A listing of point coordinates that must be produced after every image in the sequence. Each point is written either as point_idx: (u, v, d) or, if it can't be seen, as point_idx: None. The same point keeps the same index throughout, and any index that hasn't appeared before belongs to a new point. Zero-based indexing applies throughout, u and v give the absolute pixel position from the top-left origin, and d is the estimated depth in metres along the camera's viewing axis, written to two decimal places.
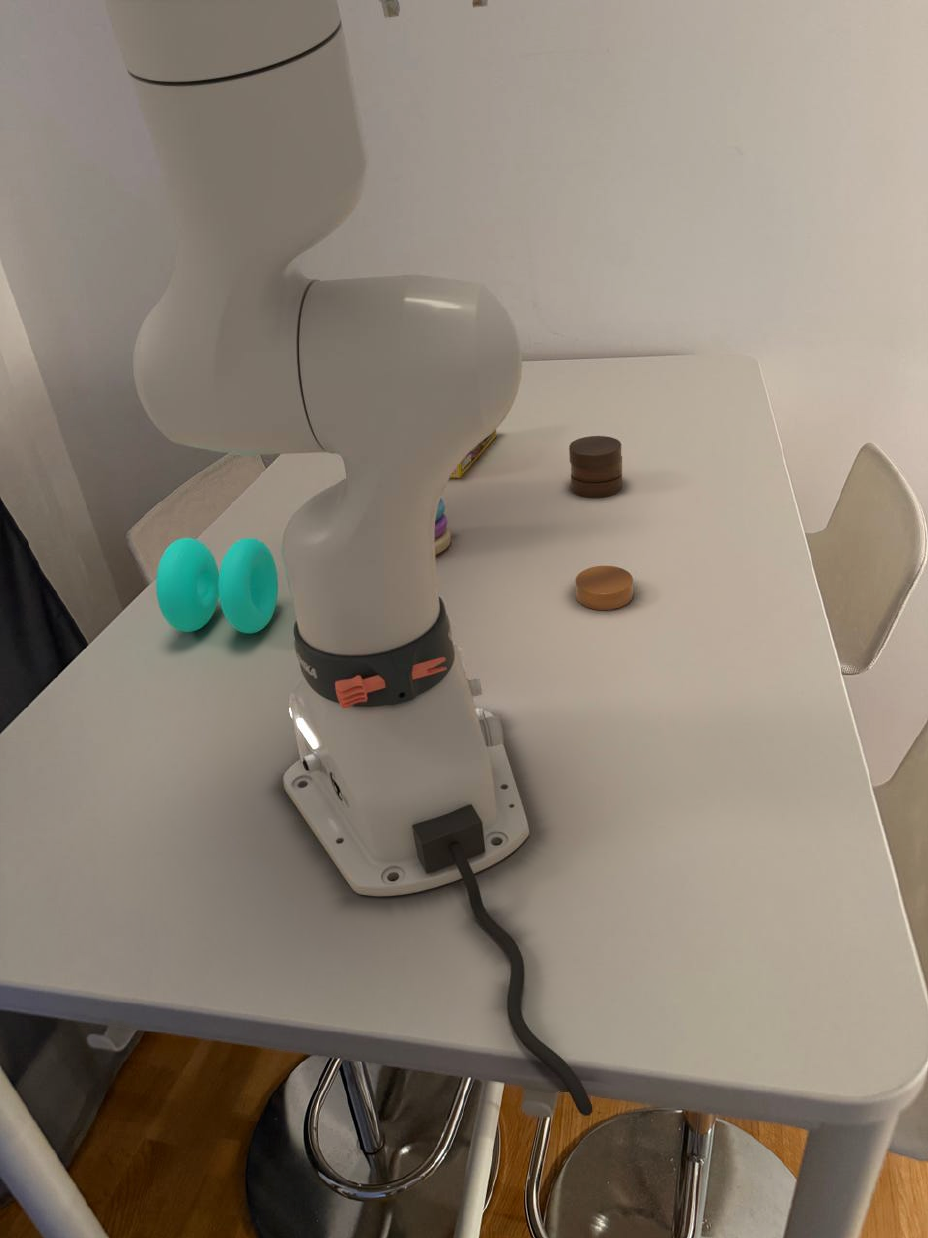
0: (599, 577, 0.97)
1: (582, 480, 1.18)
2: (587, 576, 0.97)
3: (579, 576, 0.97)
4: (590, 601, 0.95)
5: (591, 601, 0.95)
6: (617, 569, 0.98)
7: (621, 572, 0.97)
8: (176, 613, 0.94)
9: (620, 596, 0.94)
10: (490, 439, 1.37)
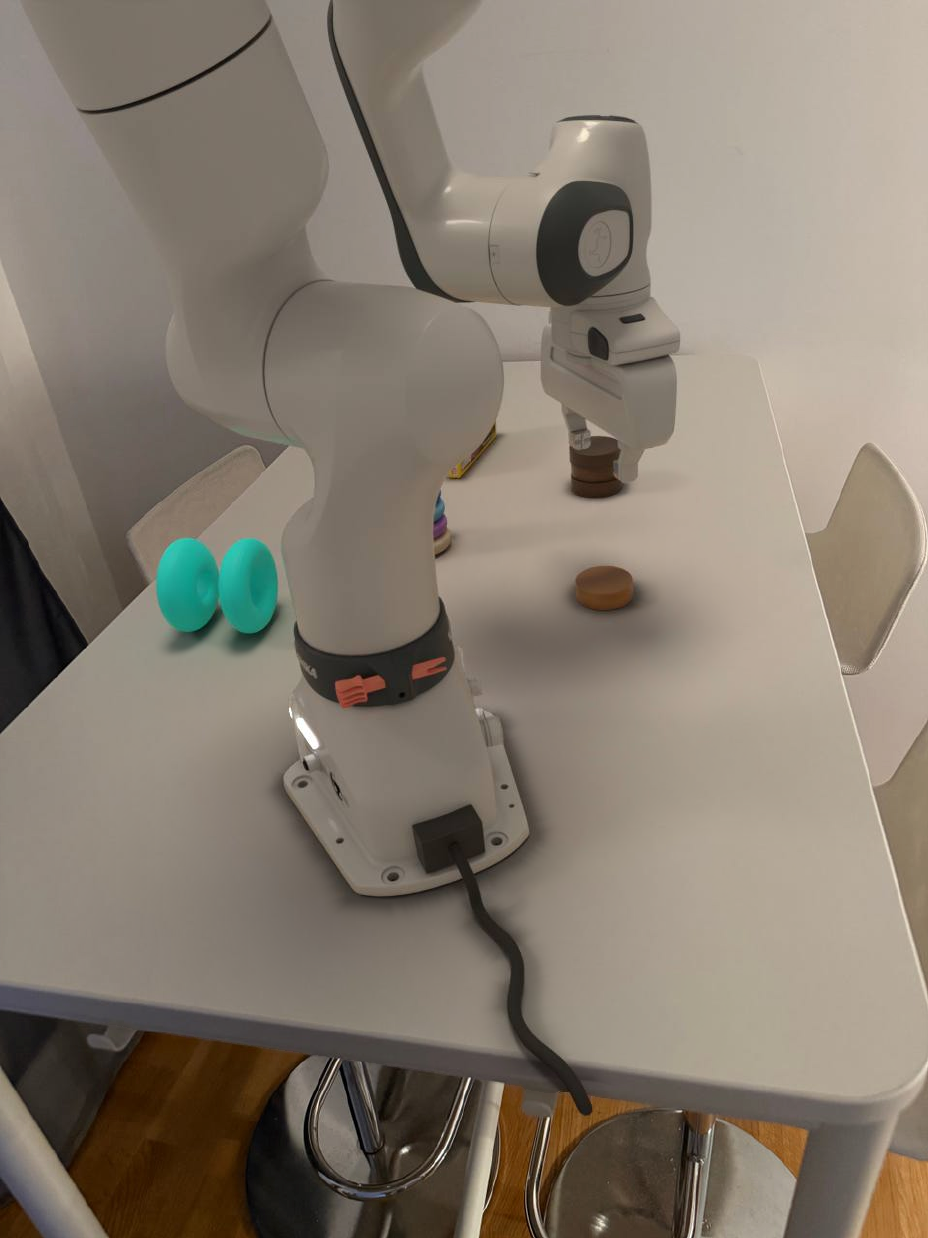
0: (599, 577, 0.97)
1: (582, 480, 1.18)
2: (587, 576, 0.97)
3: (579, 576, 0.97)
4: (590, 601, 0.95)
5: (591, 601, 0.95)
6: (617, 569, 0.98)
7: (621, 572, 0.97)
8: (176, 613, 0.94)
9: (620, 596, 0.94)
10: (490, 439, 1.37)
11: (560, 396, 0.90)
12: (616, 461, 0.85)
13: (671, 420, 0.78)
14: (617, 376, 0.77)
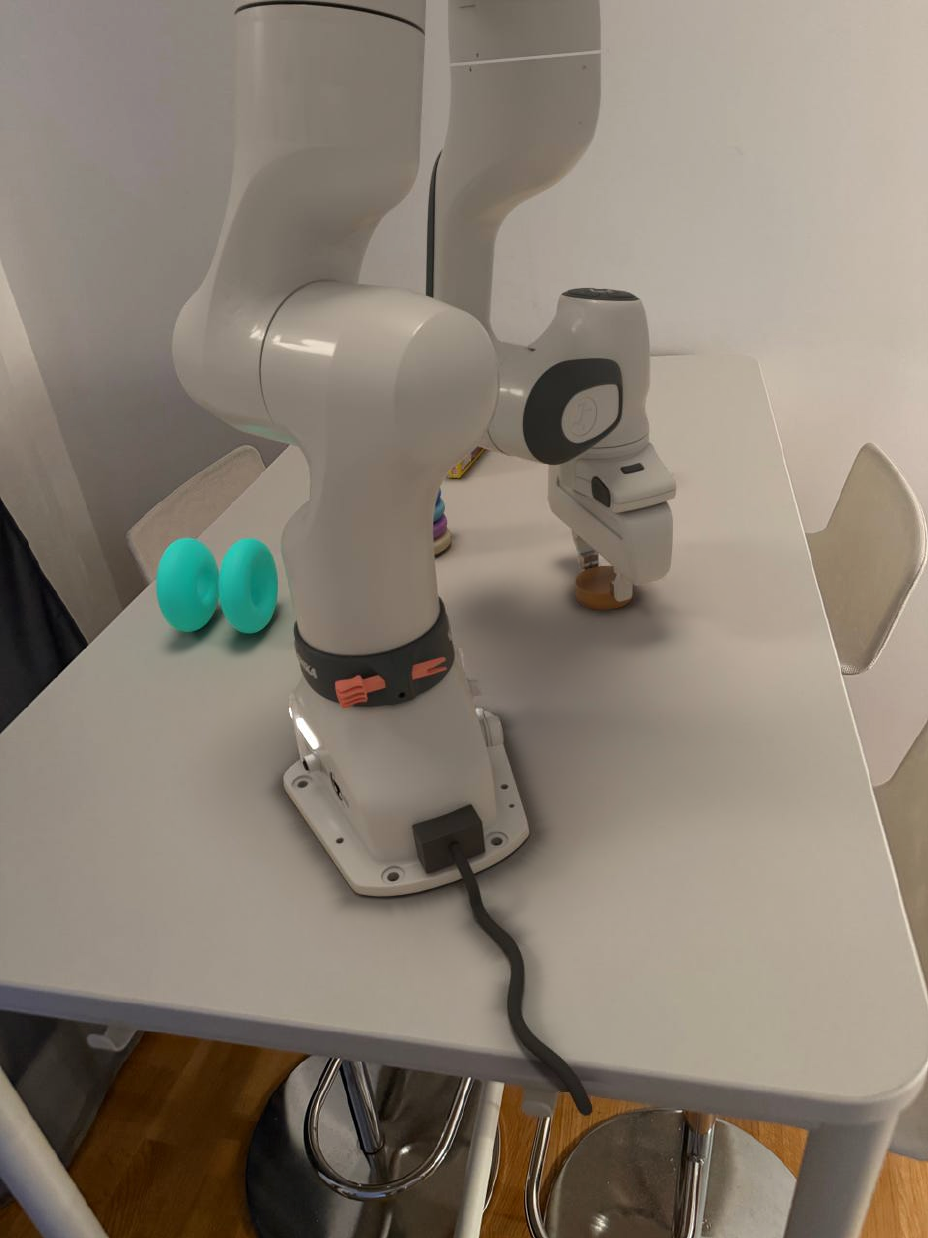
0: (599, 577, 0.97)
1: None
2: (587, 576, 0.97)
3: (579, 576, 0.97)
4: (590, 601, 0.95)
5: (591, 601, 0.95)
6: None
7: None
8: (176, 613, 0.94)
9: None
10: None
11: (566, 519, 0.97)
12: (612, 582, 0.93)
13: (668, 559, 0.85)
14: (618, 522, 0.84)
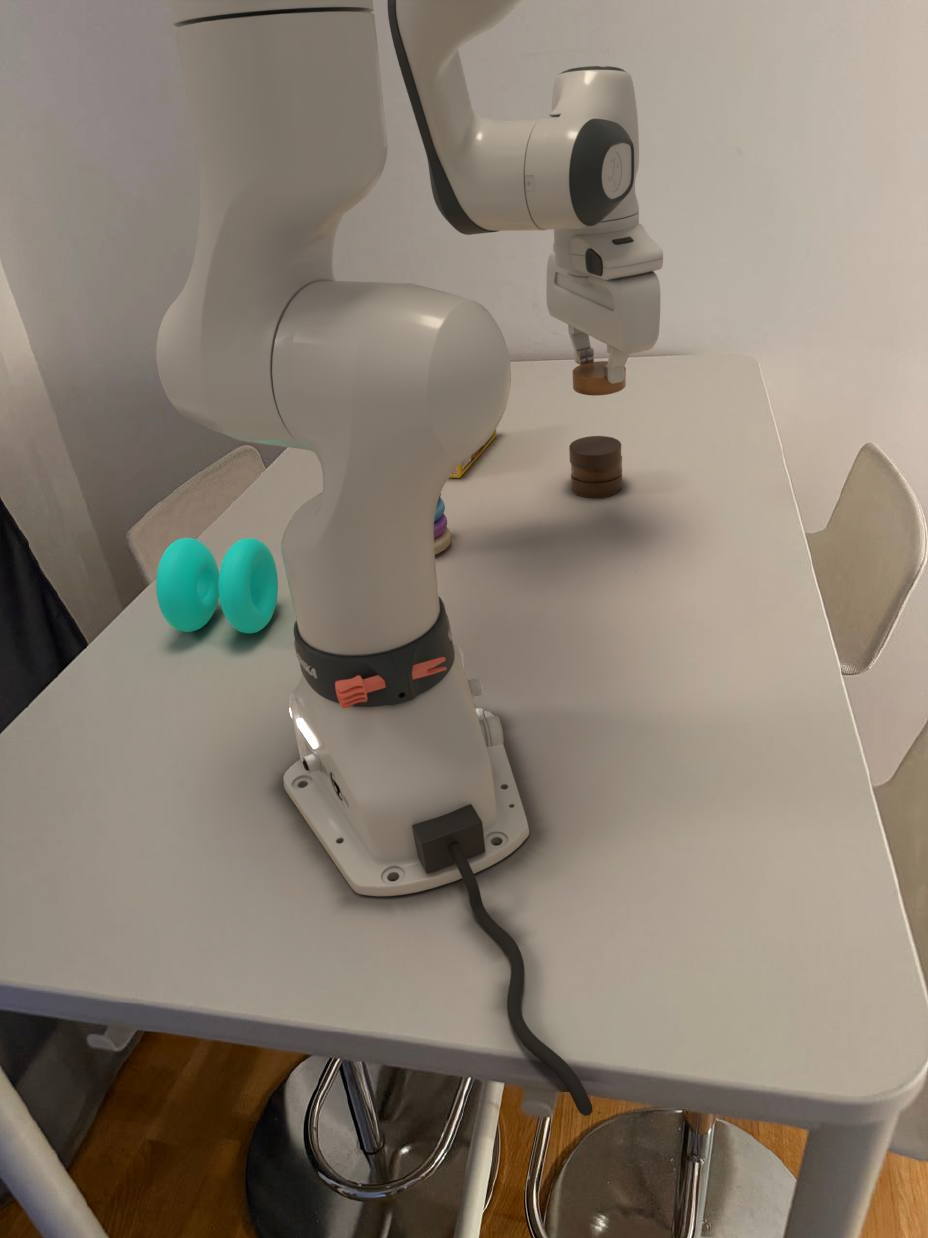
0: (594, 368, 1.04)
1: (582, 480, 1.18)
2: (583, 368, 1.05)
3: (576, 368, 1.05)
4: (586, 387, 1.03)
5: (587, 387, 1.03)
6: None
7: None
8: (176, 613, 0.94)
9: None
10: (490, 439, 1.37)
11: (563, 315, 1.05)
12: (606, 365, 1.01)
13: (656, 327, 0.93)
14: (610, 289, 0.91)
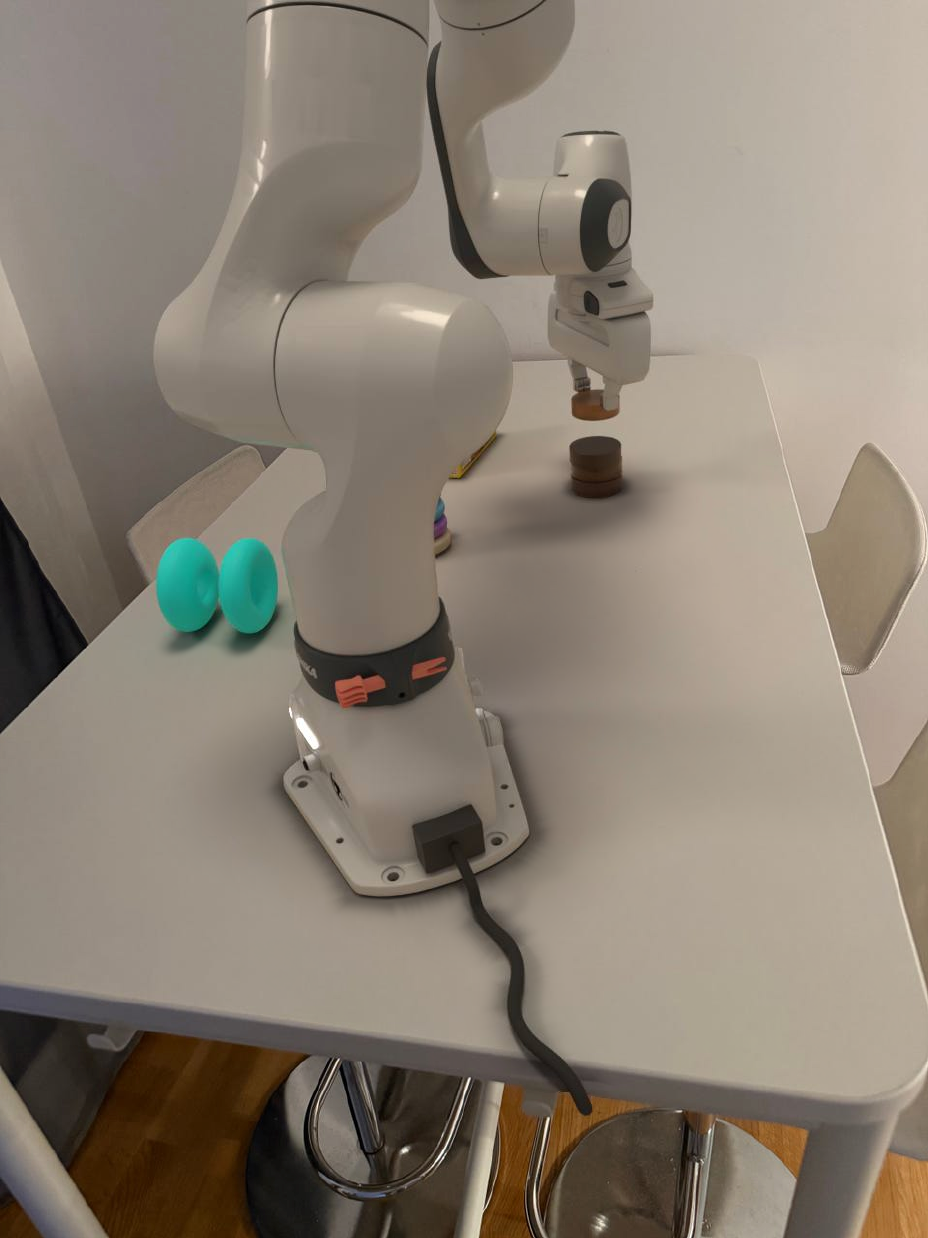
0: (591, 396, 1.15)
1: (582, 480, 1.18)
2: (581, 396, 1.15)
3: (574, 396, 1.15)
4: (583, 413, 1.13)
5: (584, 413, 1.13)
6: None
7: None
8: (176, 613, 0.94)
9: None
10: (490, 439, 1.37)
11: (563, 348, 1.15)
12: (602, 394, 1.11)
13: (647, 361, 1.03)
14: (605, 327, 1.02)
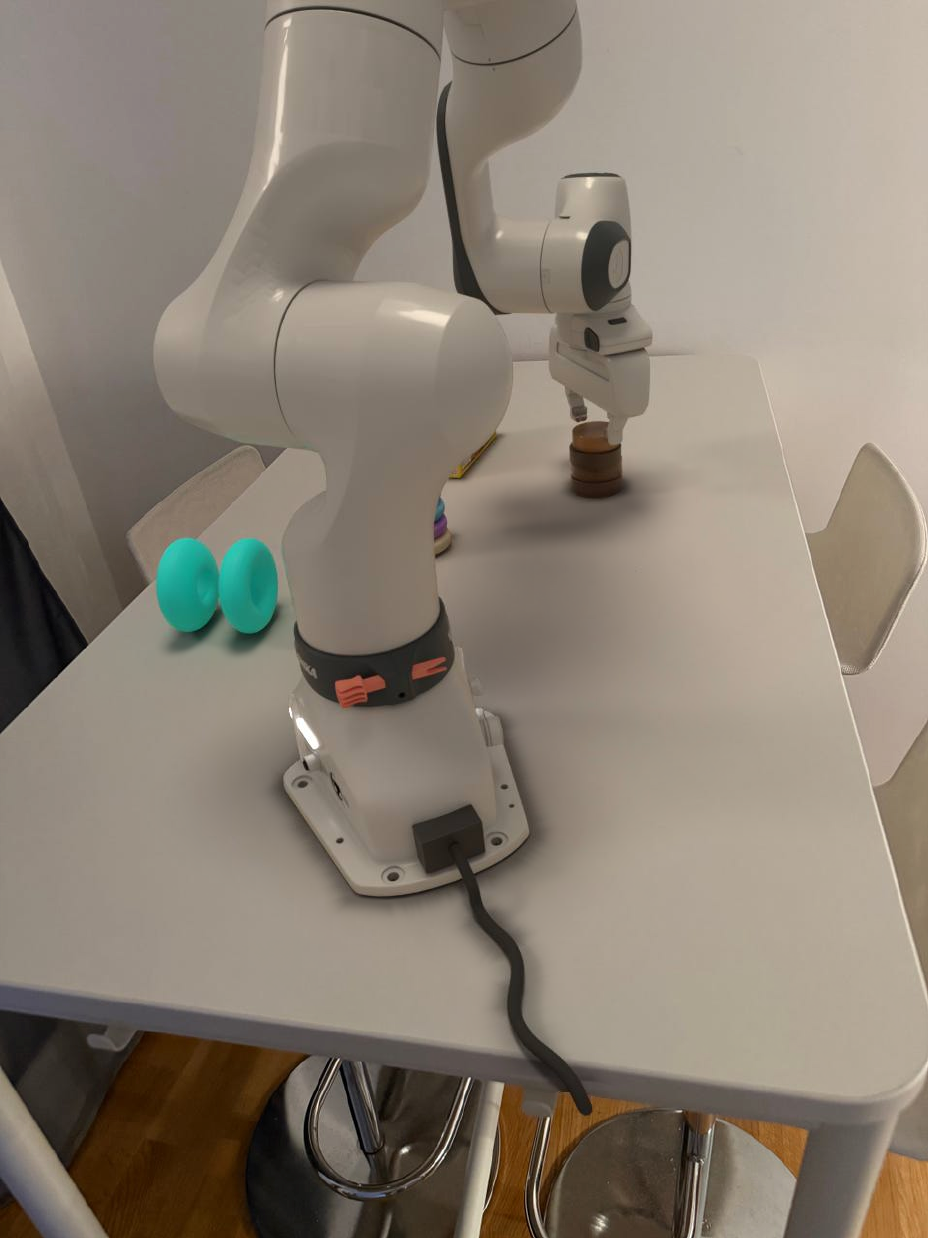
0: (592, 428, 1.17)
1: (582, 480, 1.18)
2: (582, 427, 1.17)
3: (575, 428, 1.18)
4: (584, 445, 1.15)
5: (585, 445, 1.15)
6: (607, 422, 1.18)
7: None
8: (176, 613, 0.94)
9: None
10: (490, 439, 1.37)
11: (564, 380, 1.17)
12: (606, 429, 1.12)
13: (646, 396, 1.05)
14: (606, 363, 1.04)
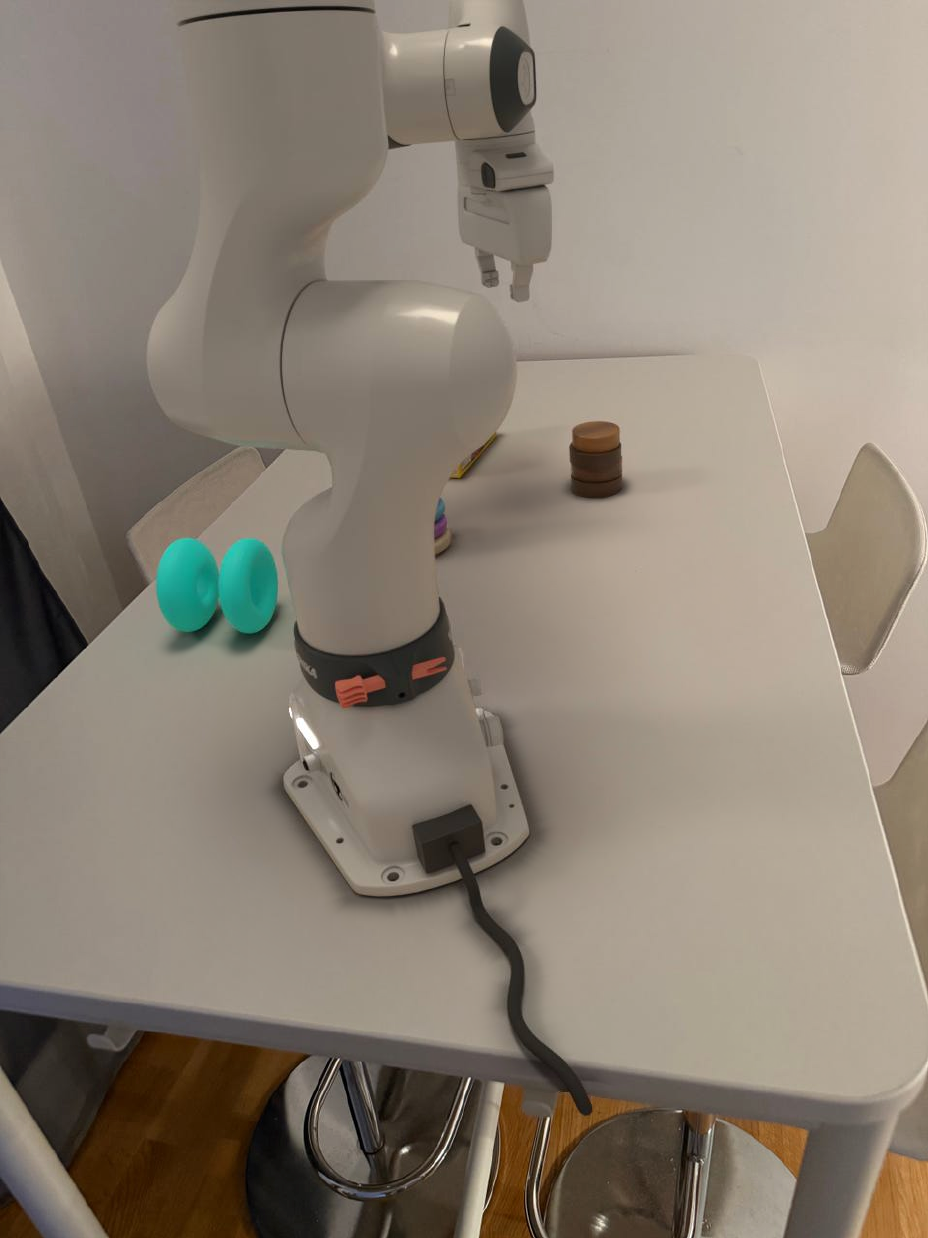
0: (592, 428, 1.17)
1: (582, 480, 1.18)
2: (582, 427, 1.17)
3: (575, 428, 1.18)
4: (584, 445, 1.15)
5: (585, 445, 1.15)
6: (607, 422, 1.18)
7: (610, 424, 1.18)
8: (176, 613, 0.94)
9: (609, 440, 1.15)
10: (490, 439, 1.37)
11: (472, 239, 1.09)
12: (512, 284, 1.04)
13: (548, 239, 0.97)
14: (503, 201, 0.96)
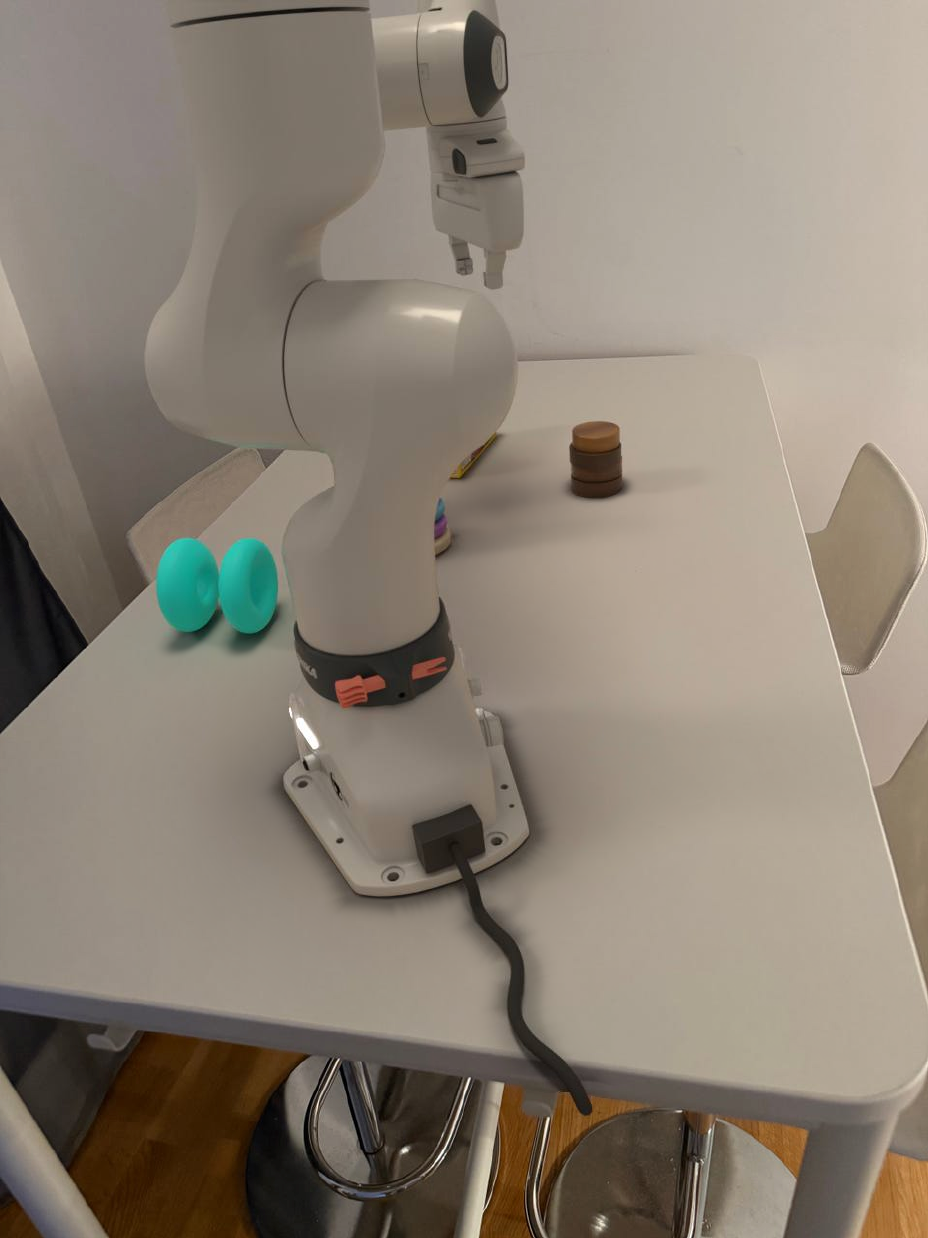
0: (592, 428, 1.17)
1: (582, 480, 1.18)
2: (582, 427, 1.17)
3: (575, 428, 1.18)
4: (584, 445, 1.15)
5: (585, 445, 1.15)
6: (607, 422, 1.18)
7: (610, 424, 1.18)
8: (176, 613, 0.94)
9: (609, 440, 1.15)
10: (490, 439, 1.37)
11: (445, 227, 1.09)
12: (485, 272, 1.04)
13: (520, 225, 0.97)
14: (474, 187, 0.95)
